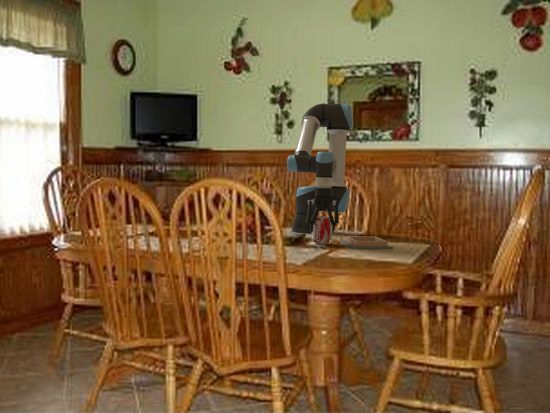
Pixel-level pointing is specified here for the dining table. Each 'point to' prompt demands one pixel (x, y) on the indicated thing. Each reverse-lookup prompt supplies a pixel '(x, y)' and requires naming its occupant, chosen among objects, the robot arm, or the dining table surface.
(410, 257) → the dining table surface
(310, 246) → the dining table surface
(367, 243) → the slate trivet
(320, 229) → the soda can
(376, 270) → the dining table surface
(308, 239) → the dining table surface
